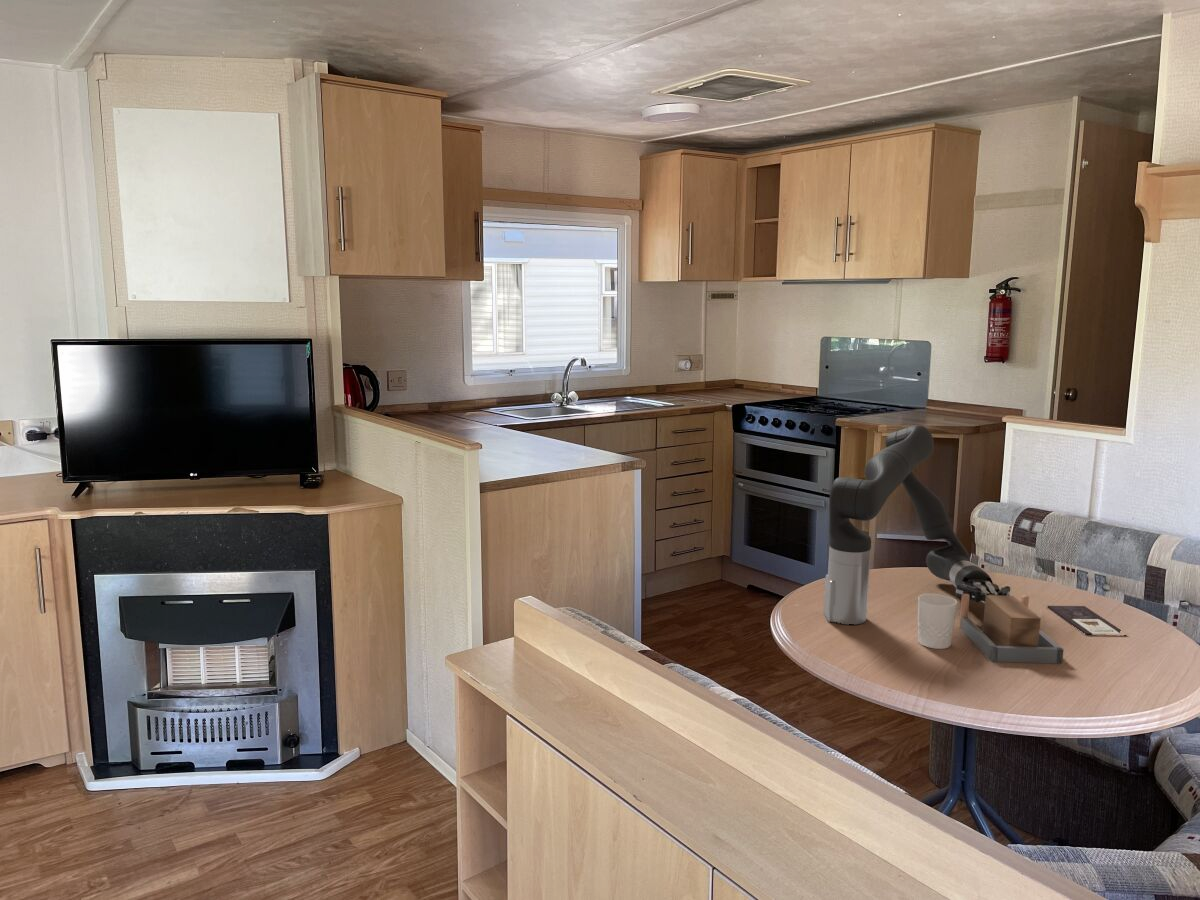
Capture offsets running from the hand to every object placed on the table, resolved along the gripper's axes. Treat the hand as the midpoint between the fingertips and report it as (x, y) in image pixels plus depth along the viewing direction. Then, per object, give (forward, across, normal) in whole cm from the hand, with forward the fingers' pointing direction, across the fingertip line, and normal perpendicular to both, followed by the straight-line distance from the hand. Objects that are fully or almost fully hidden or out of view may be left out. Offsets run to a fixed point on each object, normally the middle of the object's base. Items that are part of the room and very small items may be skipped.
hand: (997, 604), depth 203 cm
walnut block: (+8, 0, +7) cm, 10 cm away
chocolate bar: (-8, +24, +7) cm, 26 cm away
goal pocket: (+7, 0, +6) cm, 9 cm away
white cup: (+8, -16, +7) cm, 19 cm away
